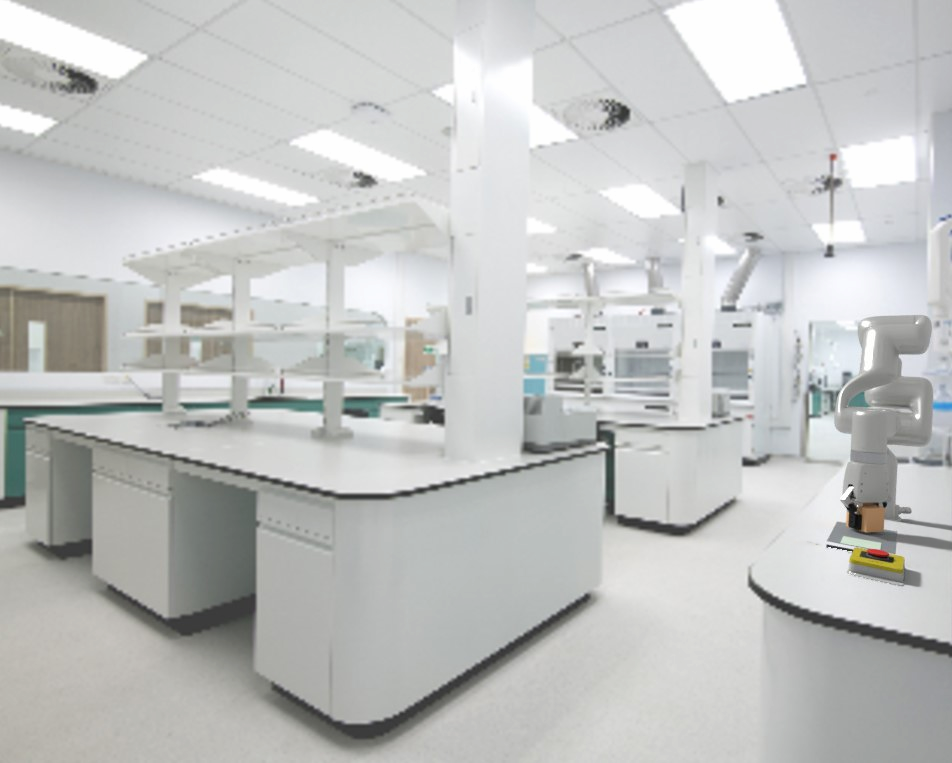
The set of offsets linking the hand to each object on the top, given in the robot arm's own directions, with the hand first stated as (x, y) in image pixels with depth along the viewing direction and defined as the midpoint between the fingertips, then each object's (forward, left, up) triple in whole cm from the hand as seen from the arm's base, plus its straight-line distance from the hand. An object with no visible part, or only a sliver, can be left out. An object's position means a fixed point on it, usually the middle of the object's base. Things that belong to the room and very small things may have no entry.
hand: (864, 527), depth 140 cm
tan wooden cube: (0, 0, 0) cm, 0 cm away
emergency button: (+16, +24, -3) cm, 29 cm away
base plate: (+3, +4, -3) cm, 6 cm away
